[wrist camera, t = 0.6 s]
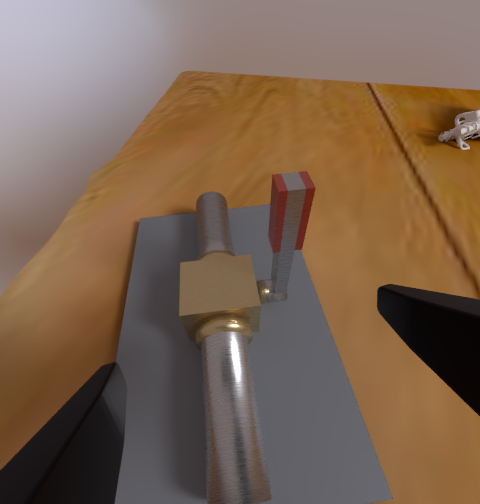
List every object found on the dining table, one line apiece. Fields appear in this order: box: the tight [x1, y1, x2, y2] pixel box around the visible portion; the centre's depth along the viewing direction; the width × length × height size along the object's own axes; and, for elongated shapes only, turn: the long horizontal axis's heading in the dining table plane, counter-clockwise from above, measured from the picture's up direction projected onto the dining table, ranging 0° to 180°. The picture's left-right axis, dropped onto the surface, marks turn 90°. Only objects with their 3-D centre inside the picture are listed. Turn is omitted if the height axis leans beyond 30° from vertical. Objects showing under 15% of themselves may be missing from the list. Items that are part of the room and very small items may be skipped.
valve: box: [179, 192, 272, 504], centre depth 23 cm, size 26×6×5 cm, turn 8°
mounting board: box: [115, 205, 393, 504], centre depth 25 cm, size 28×18×1 cm, turn 8°
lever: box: [256, 171, 315, 304], centre depth 19 cm, size 2×3×12 cm
